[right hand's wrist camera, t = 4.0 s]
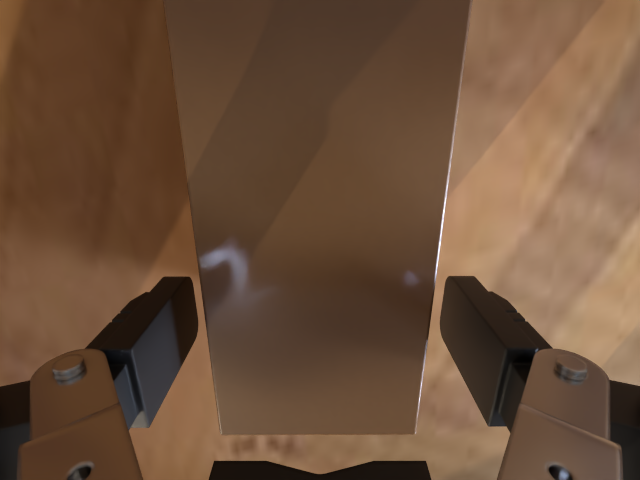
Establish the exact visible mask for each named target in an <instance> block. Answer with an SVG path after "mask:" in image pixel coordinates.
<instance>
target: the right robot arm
mask: <svg viewBox="0 0 640 480" xmlns="http://www.w3.org/2000/svg"><path fill="white" fill-rule="evenodd" d="M120 312H121V313H120V314H118V315H117V316H116V317H115V318H114V319H113V320H112V322H110V323H109V324H108V325H107V326H106V327H105V328H104V329H103V330H102V331H101V332H100V333H99V334H98V335H97V337H96V338H95V339H94V340H93V341H92V342H91V343H90V344H89V345H88V346H87V347H86V348H85V349H79V350H75V351H71V352H67V353H65V354H62V355H60V356H58V357H55V358H54V359H52V360H50V361H48V362H47V363H45V364H44V365H42V366H41V367H40V368H39V369H38V370H37V371H36V372H35V373H34V374H33V376H32V378H31V380H30V381H26V382H21V383H16V384H11V385H6V386H2V387H0V480H143V478H142V474H141V471H140V467H139V464H138V461H137V457H136V454H135V451H134V447H133V444H132V440H131V437H130V434H129V429H130V428H149V427H150V425H151V423H152V421H153V419H154V417H155V415H156V413H157V412H158V410H159V408H160V406H161V404H162V402H163V400H164V398H165V396H166V394H167V393H168V391H169V389H170V387H171V385H172V383H173V381H174V379H175V377H176V375H177V374H178V372H179V370H180V368H181V366H182V364H183V362H184V360H185V358H186V357H187V355H188V353H189V351H190V349H191V347H192V345H193V343H194V341H195V339H196V336H197V332H198V316H197V309H196V302H195V295H194V288H193V283H192V280H191V278H190V277H163V278H162V279H161V280H160V281H159V282H158V283H157V285H156V286H155V287H154V288H153V289H152V290H151V291H150V292H145V293H144V294H142V295H140V296H138V297H137V298H135V299H133V300H131V301H130V302H129V303H128V304H127V305H126V306H125V307H124V308H123V309H122V310H121V311H120ZM440 330H441V335H442V338H443V340H444V342H445V344H446V346H447V348H448V350H449V352H450V354H451V356H452V358H453V360H454V362H455V363H456V365H457V367H458V369H459V371H460V373H461V375H462V377H463V379H464V381H465V383H466V385H467V387H468V388H469V390H470V392H471V394H472V396H473V398H474V400H475V402H476V404H477V406H478V408H479V410H480V411H481V413H482V415H483V417H484V419H485V421H486V423H487V425H488V426H507V428H508V430H509V431H510V433H511V434H510V437H509V440H508V444H507V447H506V451H505V454H504V457H503V461H502V464H501V467H500V471H499V474H498V478H497V480H640V386H636V385H631V384H627V383H622V382H617V381H612V380H609V378H608V376H607V374H606V373H605V372H604V371H603V370H602V369H601V368H600V367H599V366H598V365H596V364H595V363H593V362H592V361H590V360H588V359H586V358H585V357H582V356H580V355H578V354H575V353H572V352H569V351H565V350H561V349H553V348H552V347H551V346H550V345H549V344H548V343H547V342H546V341H545V340H544V339H543V338H542V337H541V335H540V334H539V333H538V332H537V331H536V330H535V329H534V328H533V327H532V326H531V325H530V324H529V323H528V322H525V319H524V318H523V317H522V315H521V314H520V313H517V310H516V309H515V308H514V307H513V306H512V305H511V304H510V303H509V302H508V301H507V300H506V299H504V298H502V297H501V296H499V295H497V294H495V293H494V292H488V291H487V290H486V289H485V288H484V286H483V285H482V284H481V283H480V282H479V281H478V280H477V279H476V278H475V277H474V276H449V277H448V278H447V279H446V282H445V288H444V295H443V302H442V309H441V316H440ZM209 480H431V477H430V473H429V470H428V467H427V463H426V461H372V462H368V463H364V464H360V465H357V466H353V467H349V468H345V469H341V470H338V471H334V472H330V473H326V474H314V473H310V472H306V471H302V470H299V469H295V468H291V467H287V466H283V465H280V464H276V463H272V462H268V461H214V463H213V467H212V470H211V473H210V477H209Z"/></svg>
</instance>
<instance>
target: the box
mask: <svg viewBox="0 0 640 480" xmlns="http://www.w3.org/2000/svg"><path fill="white" fill-rule="evenodd" d="M163 3H164V10H165V18H166V25H167V33H168V41H169V48H170V56H171V63H172V71H173V79H174V86H175V94H176V101H177V109H178V117H179V124H180V132H181V139H182V147H183V154H184V162H185V170H186V177H187V185H188V192H189V200H190V208H191V215H192V223H193V230H194V238H195V246H196V253H197V261H198V268H199V276H200V284H201V291H202V299H203V306H204V314H205V321H206V329H207V337H208V344H209V352H210V359H211V367H212V375H213V382H214V390H215V397H216V405H217V413H218V420H219V428H220V434H221V435H379V434H415V433H416V426H417V419H418V411H419V403H420V396H421V388H422V381H423V373H424V365H425V358H426V350H427V342H428V335H429V327H430V320H431V312H432V304H433V297H434V289H435V281H436V274H437V266H438V259H439V251H440V243H441V236H442V228H443V221H444V213H445V205H446V198H447V190H448V182H449V175H450V167H451V160H452V152H453V144H454V137H455V129H456V122H457V114H458V106H459V99H460V91H461V83H462V76H463V68H464V61H465V53H466V45H467V38H468V30H469V23H470V15H471V7H472V0H163Z"/></svg>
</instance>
